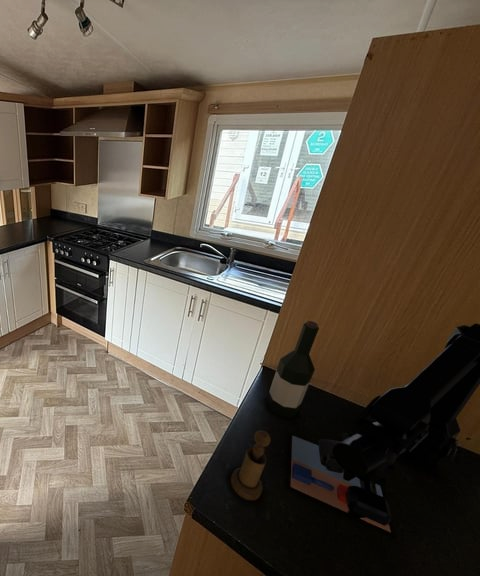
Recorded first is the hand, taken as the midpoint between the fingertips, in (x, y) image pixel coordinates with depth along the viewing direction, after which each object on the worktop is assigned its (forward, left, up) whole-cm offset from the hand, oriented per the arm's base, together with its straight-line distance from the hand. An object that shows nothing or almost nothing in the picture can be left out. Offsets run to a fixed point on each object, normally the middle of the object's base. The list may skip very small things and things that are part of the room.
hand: (347, 497), depth 70 cm
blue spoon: (+7, 0, 0) cm, 7 cm away
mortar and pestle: (+20, +8, -1) cm, 22 cm away
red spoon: (-2, 0, 0) cm, 2 cm away
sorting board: (+2, -4, -1) cm, 5 cm away
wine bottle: (+14, -22, -1) cm, 27 cm away
